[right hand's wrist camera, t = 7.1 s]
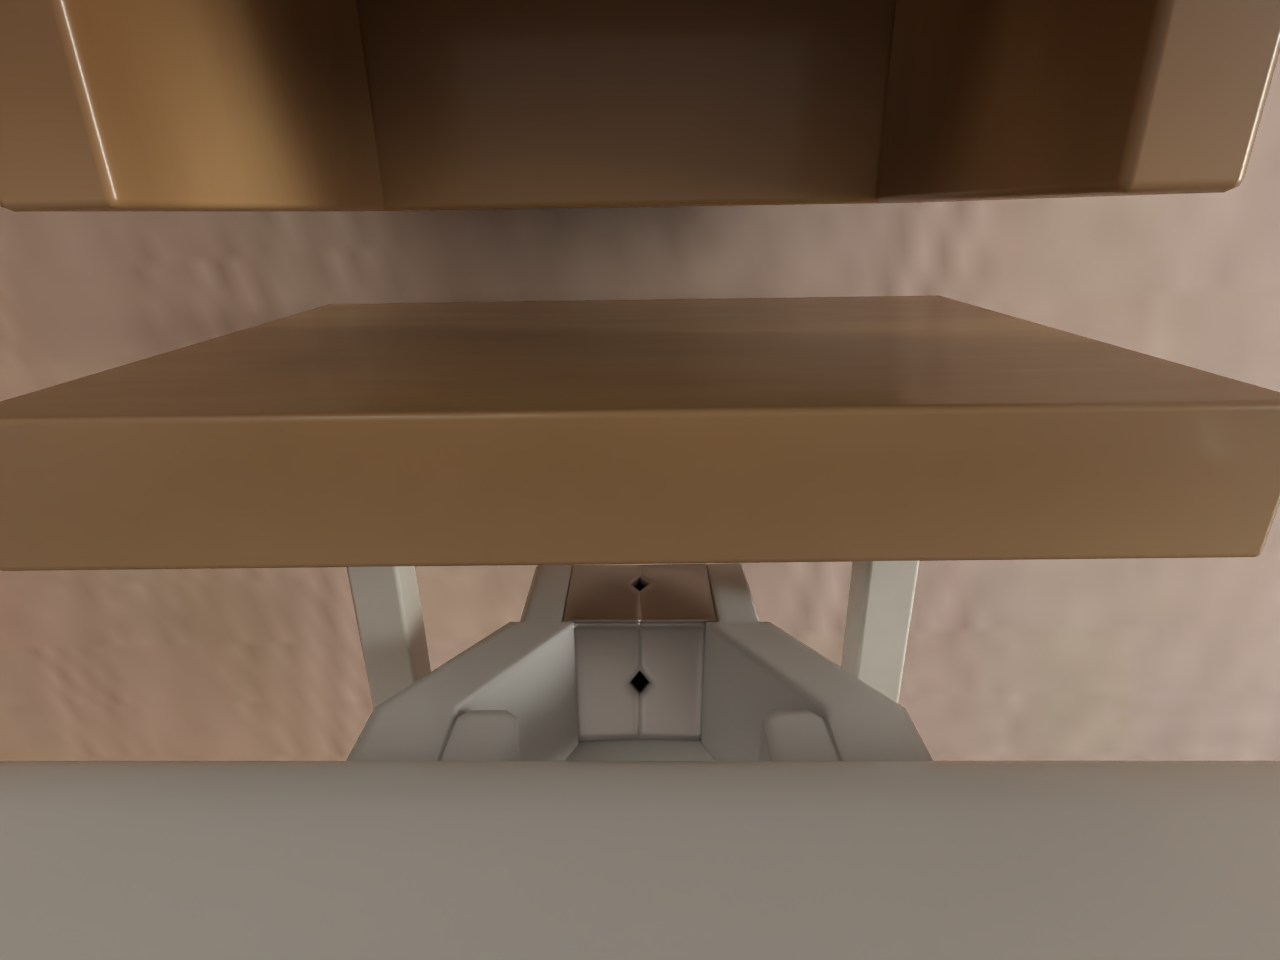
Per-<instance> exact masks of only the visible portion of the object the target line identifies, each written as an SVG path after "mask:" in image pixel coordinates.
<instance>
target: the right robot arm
mask: <svg viewBox="0 0 1280 960" xmlns="http://www.w3.org/2000/svg"><path fill="white" fill-rule="evenodd" d="M630 739H647V740H684V741H701V744H702V746H703V747H704V748H705V749H706V750H707V752H708V753H709V754H710V755H711V756H712V758H713V759H714V760H715V761H565V760H566V759H567V758H568V756H569V755H570V754H571V753H572V752H573V750H574V749H575V748H576V747H577V746H578V744H579V741H594V740H630ZM0 960H1280V761H933V760H932V758H931V756H930V754H929V752H928V750H927V748H926V747H925V745H924V743H923V741H922V739H921V737H920V735H919V733H918V732H917V730H916V728H915V726H914V724H913V722H912V720H911V718H910V717H909V715H908V713H907V711H906V709H905V708H904V707H902V706H901V705H899V704H897V703H896V702H894V701H893V700H891V699H890V698H888V697H886V696H885V695H883V694H882V693H880V692H879V691H877V690H875V689H874V688H872V687H871V686H869V685H868V684H866V683H864V682H863V681H861V680H860V679H858V678H856V677H855V676H853V675H852V674H850V673H849V672H847V671H845V670H844V669H842V668H841V667H839V666H838V665H836V664H834V663H833V662H831V661H830V660H828V659H827V658H825V657H823V656H822V655H820V654H819V653H817V652H816V651H814V650H812V649H811V648H809V647H808V646H806V645H805V644H803V643H801V642H800V641H798V640H797V639H795V638H794V637H792V636H790V635H789V634H787V633H786V632H784V631H783V630H781V629H779V628H778V627H776V626H775V625H773V624H772V623H770V622H759V619H758V616H757V612H756V609H755V606H754V602H753V599H752V596H751V592H750V589H749V586H748V582H747V579H746V575H745V572H744V569H743V565H741V564H740V563H727V564H667V565H606V564H574V565H573V564H564V565H538V566H537V567H536V570H535V573H534V577H533V580H532V583H531V587H530V590H529V594H528V597H527V600H526V604H525V607H524V611H523V614H522V617H521V621H520V622H510V623H508V624H506V625H505V626H503V627H502V628H500V629H498V630H497V631H495V632H494V633H492V634H491V635H489V636H487V637H486V638H484V639H483V640H481V641H480V642H478V643H476V644H475V645H473V646H472V647H470V648H468V649H467V650H465V651H464V652H462V653H461V654H459V655H457V656H456V657H454V658H453V659H451V660H449V661H448V662H446V663H445V664H443V665H442V666H440V667H438V668H437V669H435V670H434V671H432V672H430V673H429V674H427V675H426V676H424V677H423V678H421V679H419V680H418V681H416V682H415V683H413V684H411V685H410V686H408V687H407V688H405V689H404V690H402V691H400V692H399V693H397V694H396V695H394V696H392V697H391V698H389V699H388V700H386V701H385V702H383V703H381V704H380V705H378V706H377V707H375V709H374V710H373V712H372V714H371V716H370V718H369V720H368V722H367V723H366V725H365V727H364V729H363V731H362V733H361V735H360V736H359V738H358V740H357V742H356V744H355V746H354V747H353V749H352V751H351V753H350V755H349V757H348V759H347V760H346V761H0Z"/></svg>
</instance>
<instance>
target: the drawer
mask: <svg viewBox="0 0 1280 960" xmlns="http://www.w3.org/2000/svg"><path fill="white" fill-rule="evenodd" d="M1279 51H1280V0H0V205H1V207H4V208H7V209H10V210H12V211H413V210H476V209H539V208H603V207H666V206H729V205H793V204H856V203H914V202H944V201H974V200H1004V199H1034V198H1064V197H1094V196H1124V195H1154V194H1184V193H1214V192H1225V191H1228V190H1230V189H1233V188H1235V187H1238V186H1239V185H1240V183H1241V182H1242V180H1243V179H1244V176H1245V173H1246V169H1247V166H1248V162H1249V158H1250V155H1251V151H1252V148H1253V144H1254V141H1255V137H1256V133H1257V130H1258V126H1259V123H1260V119H1261V115H1262V112H1263V108H1264V105H1265V101H1266V98H1267V94H1268V90H1269V87H1270V83H1271V80H1272V76H1273V72H1274V69H1275V65H1276V62H1277V58H1278V55H1279ZM1279 503H1280V393H1279V392H1276V391H1272V390H1269V389H1265V388H1262V387H1258V386H1255V385H1251V384H1248V383H1244V382H1241V381H1237V380H1234V379H1230V378H1227V377H1223V376H1220V375H1216V374H1213V373H1209V372H1206V371H1202V370H1198V369H1195V368H1191V367H1188V366H1184V365H1181V364H1177V363H1174V362H1170V361H1167V360H1163V359H1160V358H1156V357H1153V356H1149V355H1146V354H1142V353H1139V352H1135V351H1132V350H1128V349H1125V348H1121V347H1118V346H1114V345H1111V344H1107V343H1104V342H1100V341H1096V340H1093V339H1089V338H1086V337H1082V336H1079V335H1075V334H1072V333H1068V332H1065V331H1061V330H1058V329H1054V328H1051V327H1047V326H1044V325H1040V324H1037V323H1033V322H1030V321H1026V320H1023V319H1019V318H1016V317H1012V316H1009V315H1005V314H1002V313H998V312H995V311H991V310H987V309H984V308H980V307H977V306H973V305H970V304H966V303H963V302H959V301H956V300H952V299H949V298H945V297H942V296H883V297H815V298H746V299H677V300H608V301H540V302H471V303H402V304H333V305H326V306H322V307H319V308H316V309H312V310H309V311H305V312H302V313H299V314H295V315H292V316H289V317H285V318H282V319H278V320H275V321H272V322H268V323H265V324H262V325H258V326H255V327H251V328H248V329H245V330H241V331H238V332H234V333H231V334H228V335H224V336H221V337H218V338H214V339H211V340H207V341H204V342H201V343H197V344H194V345H191V346H187V347H184V348H180V349H177V350H174V351H170V352H167V353H164V354H160V355H157V356H153V357H150V358H147V359H143V360H140V361H137V362H133V363H130V364H126V365H123V366H120V367H116V368H113V369H110V370H106V371H103V372H99V373H96V374H93V375H89V376H86V377H83V378H79V379H76V380H72V381H69V382H66V383H62V384H59V385H55V386H52V387H49V388H45V389H42V390H39V391H35V392H32V393H28V394H25V395H22V396H18V397H15V398H12V399H8V400H5V401H1V402H0V570H3V571H21V570H112V569H202V568H292V567H347V572H348V577H349V582H350V587H351V593H352V598H353V603H354V608H355V613H356V619H357V624H358V629H359V634H360V640H361V645H362V650H363V655H364V660H365V666H366V671H367V676H368V681H369V687H370V692H371V697H372V702H373V707H374V709H375V707H377V706H378V705H380V704H381V703H383V702H385V701H386V700H388V699H389V698H391V697H392V696H394V695H396V694H397V693H399V692H400V691H402V690H404V689H405V688H407V687H408V686H410V685H411V684H413V683H415V682H416V681H418V680H419V679H421V678H423V677H424V676H426V675H427V674H429V673H430V672H431V670H430V663H429V657H428V650H427V643H426V637H425V630H424V623H423V617H422V610H421V604H420V597H419V590H418V584H417V577H416V570H415V566H473V565H564V564H654V563H744V562H835V561H853V564H852V573H851V582H850V591H849V600H848V609H847V619H846V628H845V637H844V646H843V655H842V664H841V668H842V669H844V670H845V671H847V672H849V673H850V674H852V675H853V676H855V677H856V678H858V679H860V680H861V681H863V682H864V683H866V684H868V685H869V686H871V687H872V688H874V689H875V690H877V691H879V692H880V693H882V694H883V695H885V696H886V697H888V698H890V699H891V700H893V701H894V702H896V703H897V704H898V701H899V694H900V687H901V681H902V674H903V667H904V661H905V654H906V647H907V641H908V634H909V627H910V621H911V614H912V607H913V600H914V594H915V587H916V580H917V574H918V567H919V561H925V560H1016V559H1106V558H1196V557H1256V556H1259V555H1260V554H1261V553H1262V551H1263V548H1264V546H1265V543H1266V540H1267V537H1268V534H1269V531H1270V529H1271V526H1272V523H1273V520H1274V517H1275V514H1276V511H1277V509H1278V506H1279ZM565 761H715V760H714V759H713V758H712V756H711V755H710V754H709V753H708V752H707V750H706V749H705V748H704V747H703V746H702V744H701V741H684V740H647V739H630V740H594V741H579V744H578V746H577V747H576V748H575V749H574V750H573V752H572V753H571V754H570V755H569V756H568V758H567V759H566V760H565Z"/></svg>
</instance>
